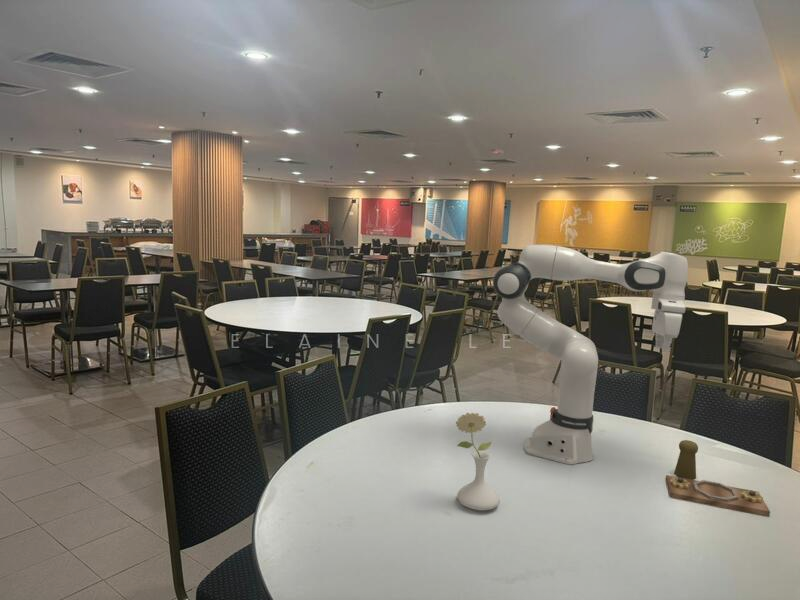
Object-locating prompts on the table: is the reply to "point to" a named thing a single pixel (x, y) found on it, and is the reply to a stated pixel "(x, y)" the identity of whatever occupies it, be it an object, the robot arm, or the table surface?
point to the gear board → (717, 495)
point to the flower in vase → (477, 491)
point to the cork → (686, 460)
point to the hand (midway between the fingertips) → (662, 349)
